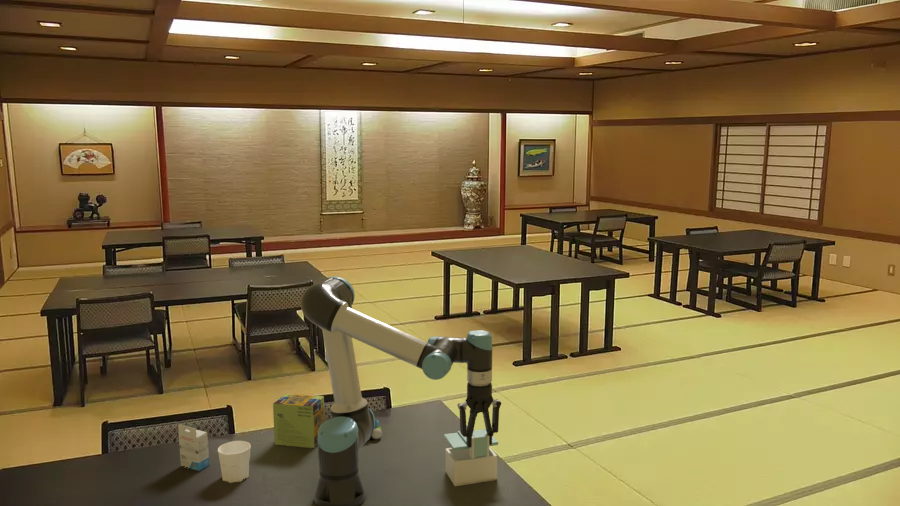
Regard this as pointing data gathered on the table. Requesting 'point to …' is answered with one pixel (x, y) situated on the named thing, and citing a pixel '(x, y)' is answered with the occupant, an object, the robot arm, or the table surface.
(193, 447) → the ink box
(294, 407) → the protein box
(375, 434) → the rainbow disc toy
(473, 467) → the tub
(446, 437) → the lid
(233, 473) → the cup
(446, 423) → the table surface
